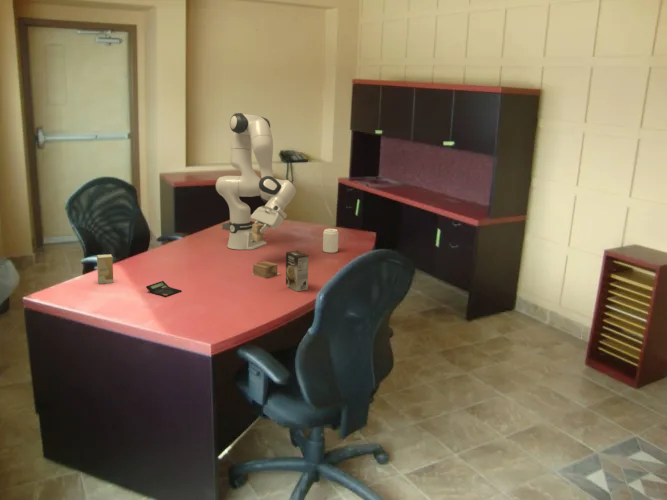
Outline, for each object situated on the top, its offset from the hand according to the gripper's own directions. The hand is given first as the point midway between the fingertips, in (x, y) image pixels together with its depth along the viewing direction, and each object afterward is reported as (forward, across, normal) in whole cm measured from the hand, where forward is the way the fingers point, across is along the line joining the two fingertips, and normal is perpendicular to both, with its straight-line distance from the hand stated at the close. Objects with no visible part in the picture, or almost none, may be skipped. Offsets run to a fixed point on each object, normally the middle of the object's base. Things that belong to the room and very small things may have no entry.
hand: (257, 230), depth 311 cm
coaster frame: (-12, -69, +39) cm, 80 cm away
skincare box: (+62, -15, -38) cm, 74 cm away
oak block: (+3, 0, +4) cm, 5 cm away
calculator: (+51, +12, -27) cm, 59 cm away
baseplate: (+17, +18, +7) cm, 25 cm away
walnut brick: (+17, +18, +6) cm, 26 cm away
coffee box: (+16, +40, +8) cm, 44 cm away
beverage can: (-20, +2, +46) cm, 50 cm away
